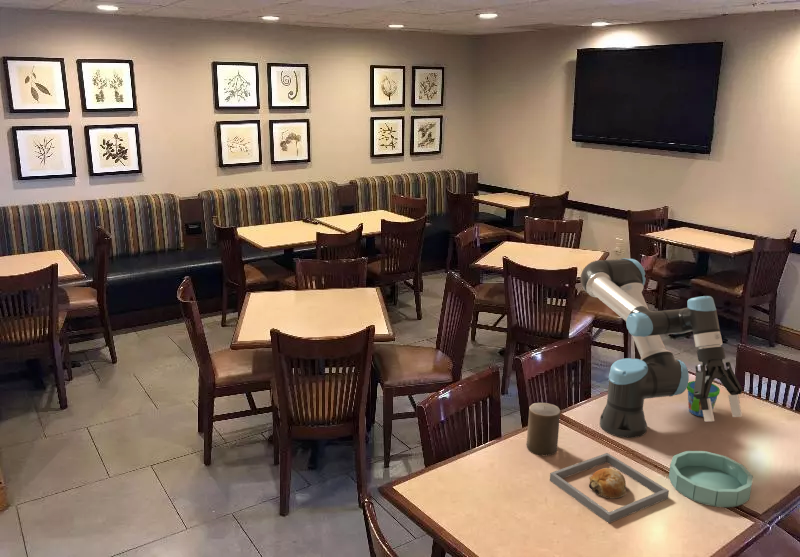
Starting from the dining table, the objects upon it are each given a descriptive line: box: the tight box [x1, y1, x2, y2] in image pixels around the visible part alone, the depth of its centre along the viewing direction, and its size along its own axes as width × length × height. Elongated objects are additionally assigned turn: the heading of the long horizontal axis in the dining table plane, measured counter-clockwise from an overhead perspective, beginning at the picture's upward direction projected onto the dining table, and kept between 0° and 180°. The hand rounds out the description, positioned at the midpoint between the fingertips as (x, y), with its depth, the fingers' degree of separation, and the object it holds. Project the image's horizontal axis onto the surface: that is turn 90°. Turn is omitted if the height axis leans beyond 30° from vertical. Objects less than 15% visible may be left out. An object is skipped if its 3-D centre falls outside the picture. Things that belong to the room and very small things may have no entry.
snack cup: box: [686, 380, 721, 418], centre depth 234 cm, size 16×10×10 cm
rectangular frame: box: [549, 452, 670, 524], centre depth 190 cm, size 23×23×2 cm
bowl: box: [668, 450, 754, 508], centre depth 191 cm, size 21×21×5 cm
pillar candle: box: [526, 402, 561, 456], centre depth 210 cm, size 10×10×15 cm
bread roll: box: [588, 467, 627, 499], centre depth 190 cm, size 10×10×8 cm
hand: (723, 419), depth 195 cm, fingers open, 13 cm apart
